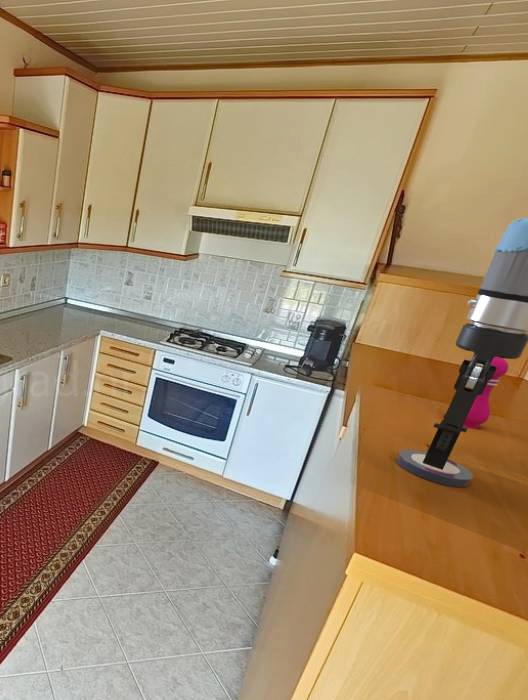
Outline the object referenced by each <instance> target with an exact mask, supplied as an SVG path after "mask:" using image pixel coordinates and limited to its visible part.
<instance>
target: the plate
mask: <svg viewBox="0 0 528 700" xmlns="http://www.w3.org/2000/svg"><path fill="white" fill-rule="evenodd" d="M426 454H427V451H420V450H414V449H402V450H400V451H399V452H398V454H397V456H396V459H395V460H396V463H397V465H398V466H400V467H401V468H402V469H404V470H405V471H407V472H409V473H410V474H413V475H414V476H417V477H419V478H422V479H424V480H426V481H430V482H432V483H436V484H440V485H443V486H446V487H447V486H448V487H454V488H466V487H468V486H469V485H470V484H471V482H472V480H473V478H474V475H473V473H472V472H471V471H470V470H469V469H467V468H466V467H464V466H463V465H461V464H459V463H457V462H454V461H452V460H451V459H448V460H447V462H446V464H445V466H444V468H443V470H441V469H438V468H435V467H433V466H430V465H427V464H424V463H422V462H423V460H424V458H425V456H426Z"/></svg>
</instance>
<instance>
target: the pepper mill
mask: <svg viewBox="0 0 528 700" xmlns="http://www.w3.org/2000/svg"><path fill="white" fill-rule="evenodd" d="M491 366H496V367H497V368H496V372H495V374H494V376H493V378H492V379H491V380H489V381H488V383H487V385H486V387H485V389H484V391H483V393H482V395H478V396H477V397H476V399H475V401H474V403H473V405H472V407H471V410H470V412H469V414H468V416H467V418H466V421H465V423H464V424H463V427H465V428H469V429H480V425H482V424H485V423H486V422H488V421H489V418H490V416H491V410H490V409H491V408H490V394H491V393H492V390H493V389H494V387H496V386H498V385H499V384H498V383H499V382H500V379H499V378H501V377H503V376H505V375H506V374H507V372H508V370H509V363H508V361H507V359H505V358H500V357H494V358H493V360H492V363H491ZM484 378H485V377H484Z"/></svg>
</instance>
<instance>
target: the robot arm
mask: <svg viewBox="0 0 528 700" xmlns="http://www.w3.org/2000/svg"><path fill="white" fill-rule="evenodd" d="M475 298H476V299H469V300H468V301H467V303H466V305H467V306H468V307H473V308H470V309H469V312H468V314H467V316H466V318H467V320H469V321H470V322H468V323H467V322H466V323H465V324H463V325H462V327H461V329H460V330H459V331H460V332H459V334H458V336H457V339H456V340H455V346H456V347H457V348H459V349H461V350H464V351H467V352H472V353H473V356H472V357H471V359H470V360H468V359H463V361H462V362H461V365H460V367H459V369H458V373H459V374H458V376H457V379H456V381H455V383H454V386H453V389H454V390H455V391H454V394H453V397H452V399H451V401H450V404H449V405H448V408H447V410H446V412H445V414H444V415H443V419H441V421H440V423H439V422H434V424H433V428H436V431H435V434H434V436H433V438H432V441H431V443H430V445H429V447H428V449H427V451H426V453H427V454H426V456H425V458H424V460H423V462H422V463H424V464H427V465H430V466H433V467H435V468H438V469H441V470H443V468H444V466H445V464H446V462H447V460H449V457H450V456H451V453H452V451H453V449H454V447H455V445H456V443H457V441H458V439H459V437H460V434H461V433H462V432H463V433H466V432H467V431H468V427H465V426H463V424H464V423H465V421H466V418H467V416H468V414H469V412H470V410H471V407H472V405H473V403H474V401H475V399H476V397H477V396H478V395H482V393H483V391H484V389H485V387H486V385H487V383H488V381H489V380H491V379H492V378H493V376H494V374H495V372H496V368H497V367H496V366H491V363H492V360H493V358H494V357H500V358H503V359H504V360H516V359H519V358H521V356H522V354H523V352H524V350H525V348H526V346H527V343H528V334H527V333H528V217H522V218H518V219H515V220H513V221H512V222H511V223H509V225H508V226H507V228H506V230H505V231H504V233H503V234H502V237H501V239H500V240H499V242H498V245H497V246H496V247H495V249H494V254H493V257H492V259H491V262H490V264H489V266H488V268H487V271H486V273H485V276H484V278H483V280H482V282H481V285H480V287H479V289H478V292H477V295H476V296H475ZM484 377H485V378H484Z"/></svg>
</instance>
